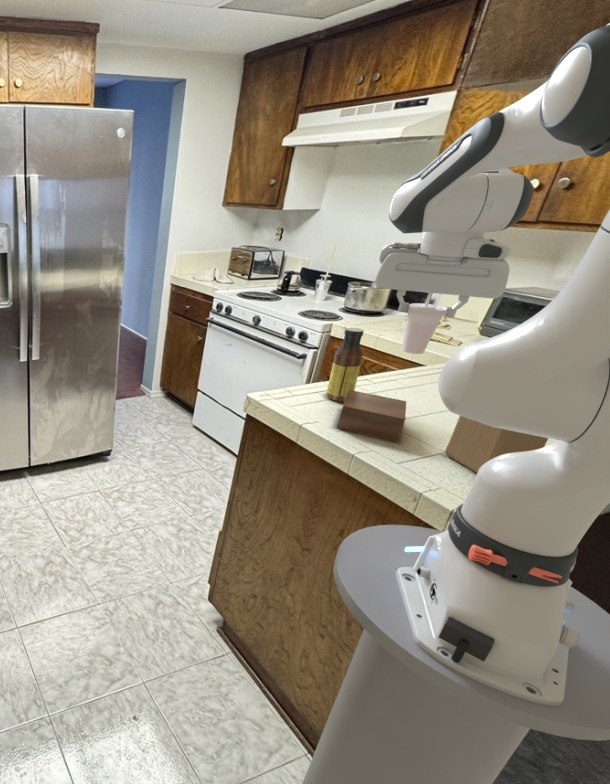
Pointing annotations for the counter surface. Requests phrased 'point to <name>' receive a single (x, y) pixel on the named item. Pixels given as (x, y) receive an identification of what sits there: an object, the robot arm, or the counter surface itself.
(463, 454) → the wooden block
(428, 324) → the smoothie
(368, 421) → the walnut block
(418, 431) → the counter surface
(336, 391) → the sauce bottle
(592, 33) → the robot arm
